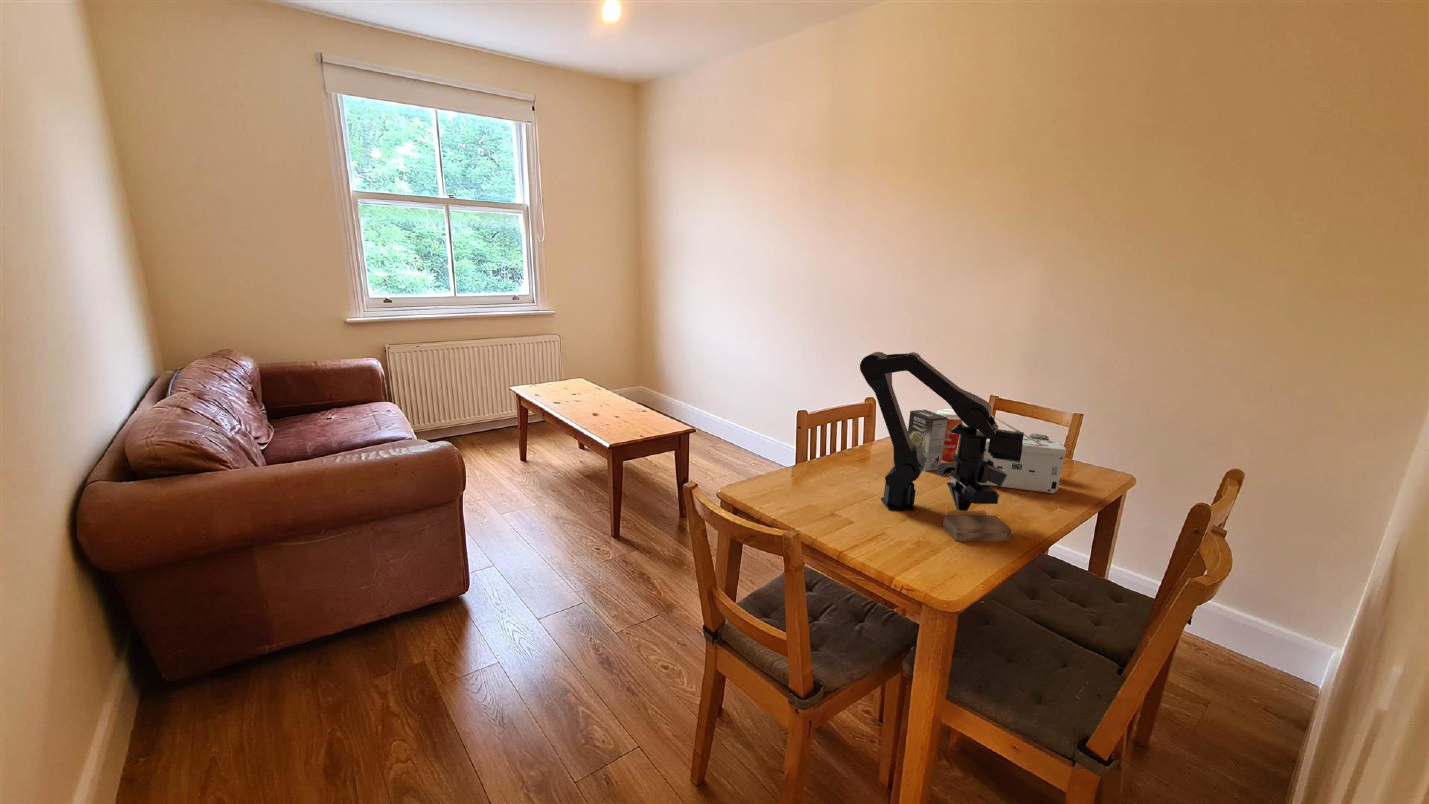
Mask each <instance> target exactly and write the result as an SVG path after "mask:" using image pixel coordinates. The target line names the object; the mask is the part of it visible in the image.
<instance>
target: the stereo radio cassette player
mask: <svg viewBox="0 0 1429 804" xmlns="http://www.w3.org/2000/svg"><path fill="white" fill-rule="evenodd" d="M992 417H993V419H996V420H997V421H999V422H1001V423H1002V424H1004V425H1006V426H1007V427H1009V428H1010V429H1012V430H1013V431H1019V432H1021V431H1020V430H1018V429H1017V428H1016V427H1013V426H1011V425H1010V424H1008V423H1006V422H1004V421H1002V420H1001V419H999V418H998V417H995V415H992ZM1029 436H1030V435H1027V434H1025V433H1024V436H1023V442H1022V444H1023V448H1022V454H1021V460H1020V463H1017V462H1012V461H1006V460H1001V459H995V458H992V457H993V456H991V455H990V453H988V447H989V442H990V439H987V441H986V447H985V454H984V458H987V459H989V460H991V461H993V462H994V466H995V467H996V468H998V469H1000V470H1001V471H1003V472H1004V473H1006V474H1007V477H1006V479H1005V480H1004V482H1003V484H1002V486H1001V487H1002V488H1008V489H1017V490H1025V491H1031V492H1040V493H1041V492H1042V493H1048V494H1051V493H1052V494H1055V492H1057V491H1058V490H1059V485H1060V483H1061V482H1060V481H1061V475H1062V471H1063V466H1064V465H1063V464H1064V461H1065V456H1066V454H1067V448H1066V447H1065V446H1064V445H1063V443H1062V442H1060V441H1056V440H1050V441H1047V440H1037V439H1032V438H1031V437H1029ZM1028 438H1029V439H1028ZM978 483H979V484H981V485H988V486H990V487H991V486H992V487H993V486H994V487H1000V486H997V484H994V483H992V482H989V481H987V482H986V483H980V482H978ZM1001 487H1000V488H1001Z"/></svg>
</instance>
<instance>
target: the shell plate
mask: <svg viewBox="0 0 1429 804" xmlns="http://www.w3.org/2000/svg"><path fill="white" fill-rule="evenodd" d="M945 515H987V511H986V510H969V509H968V510H957V509H956V510H953V509H952V510H951V509H947V510H946V513H945Z"/></svg>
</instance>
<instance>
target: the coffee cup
mask: <svg viewBox="0 0 1429 804" xmlns="http://www.w3.org/2000/svg"><path fill="white" fill-rule="evenodd" d="M935 413H936V414H939V415H942V416H945V417H948V420H947V427H946V433H945V440H944V446H943V453H942V459H941V461H944V462H951V461H955V459H953V454H957V451H958V444H959V437H960V434H955V433H952V432H951V430H952V428H953V427H954V426H956V425H958V424H959V423H960V422H962V423H963V421H962V420H961V419H960V418H959V417H958V416H957V415H956V413H955V412H954V410H953V409H952V408H941V409H938V410H937V412H935Z"/></svg>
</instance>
